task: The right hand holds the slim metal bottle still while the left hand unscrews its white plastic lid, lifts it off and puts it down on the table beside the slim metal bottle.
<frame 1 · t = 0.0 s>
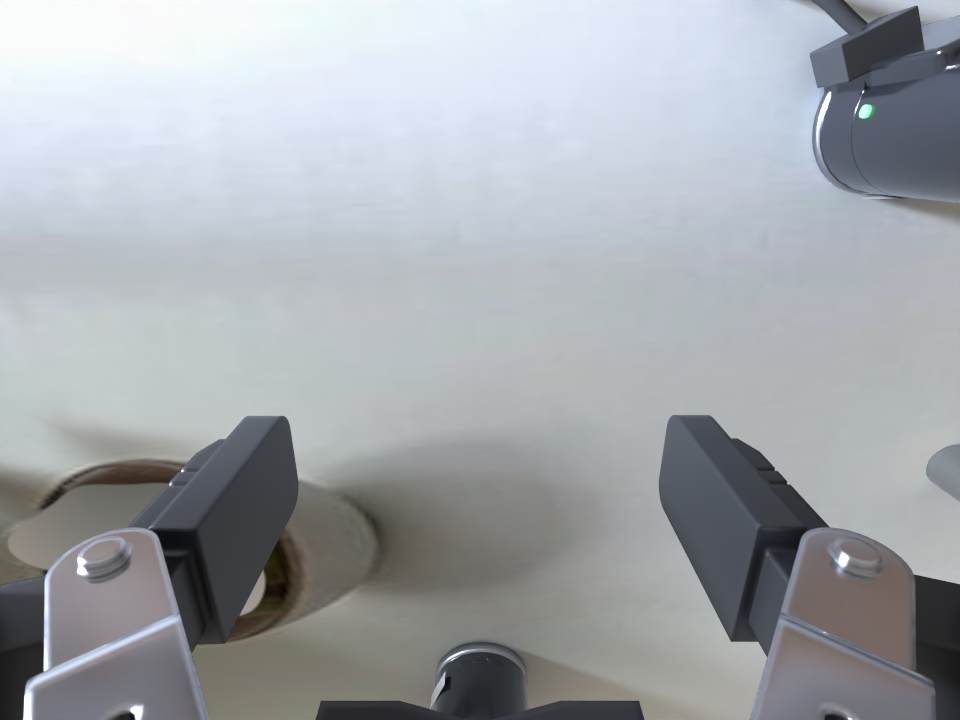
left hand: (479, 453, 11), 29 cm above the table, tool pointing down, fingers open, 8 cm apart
slim metal bottle: (950, 464, 46), on the table
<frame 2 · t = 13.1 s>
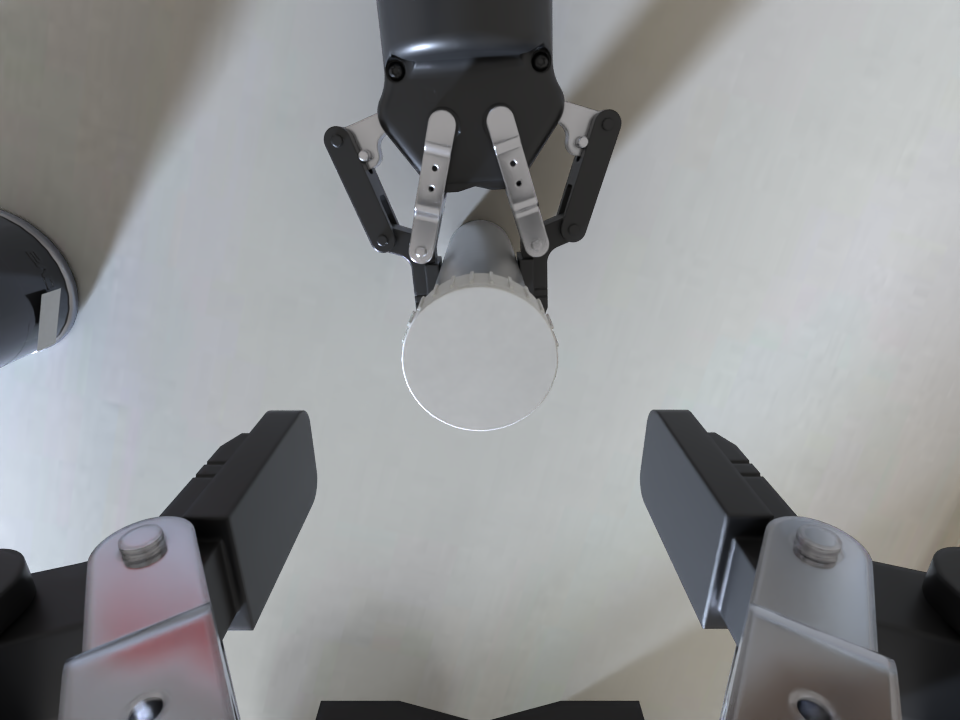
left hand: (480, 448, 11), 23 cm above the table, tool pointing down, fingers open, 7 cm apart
right hand: (483, 325, 28), fingers closed on slim metal bottle, 4 cm apart
lid: (480, 358, 16), point 18 cm above the table, screwed on, not yet turned
slim metal bottle: (480, 252, 33), on the table, touching right hand
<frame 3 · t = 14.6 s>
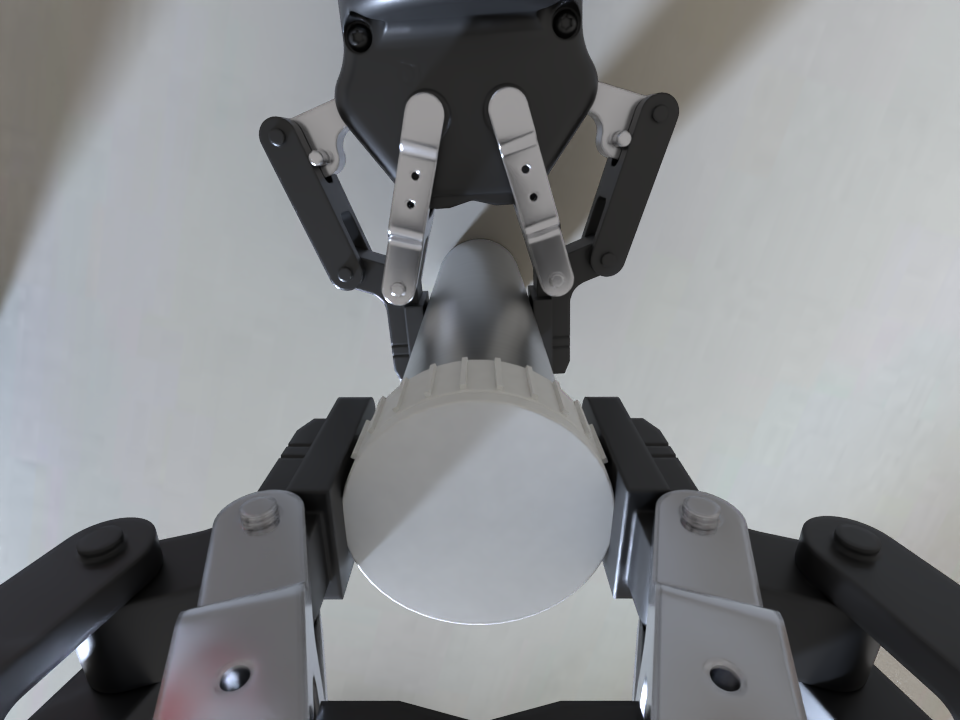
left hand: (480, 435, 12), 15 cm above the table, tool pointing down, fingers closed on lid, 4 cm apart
right hand: (483, 381, 21), fingers closed on slim metal bottle, 4 cm apart
lid: (478, 511, 9), point 18 cm above the table, screwed on, not yet turned, touching left hand
slim metal bottle: (479, 280, 26), on the table, touching right hand
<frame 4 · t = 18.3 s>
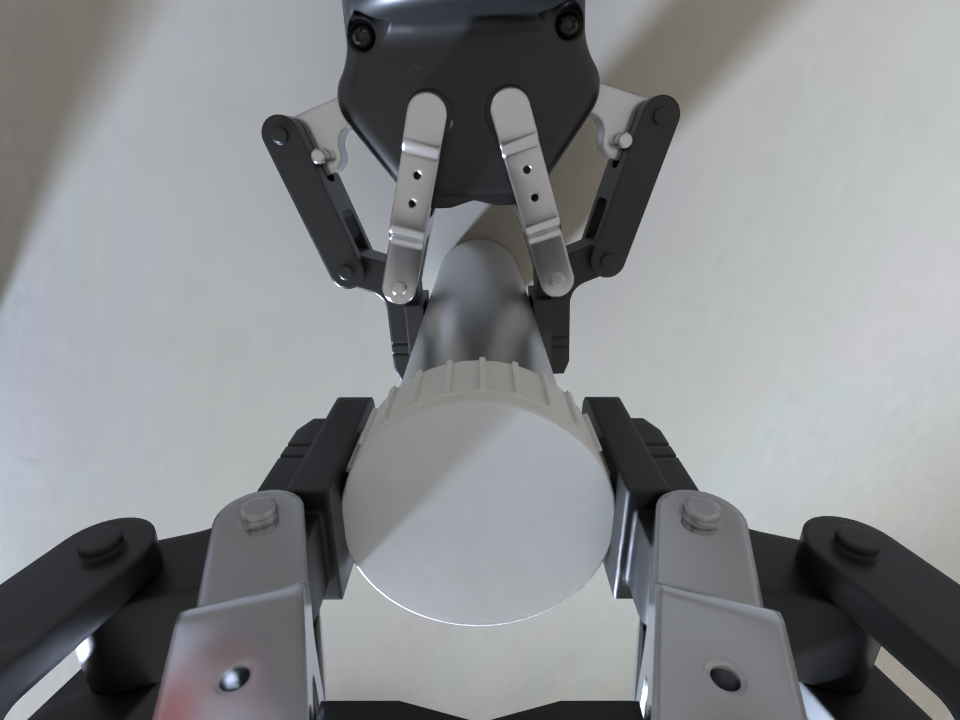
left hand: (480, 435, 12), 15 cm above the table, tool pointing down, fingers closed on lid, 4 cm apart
right hand: (483, 381, 21), fingers closed on slim metal bottle, 4 cm apart
lid: (478, 512, 9), point 18 cm above the table, turned 79° so far, risen 0.1 cm, still on its thread, touching left hand
slim metal bottle: (479, 279, 26), on the table, touching right hand
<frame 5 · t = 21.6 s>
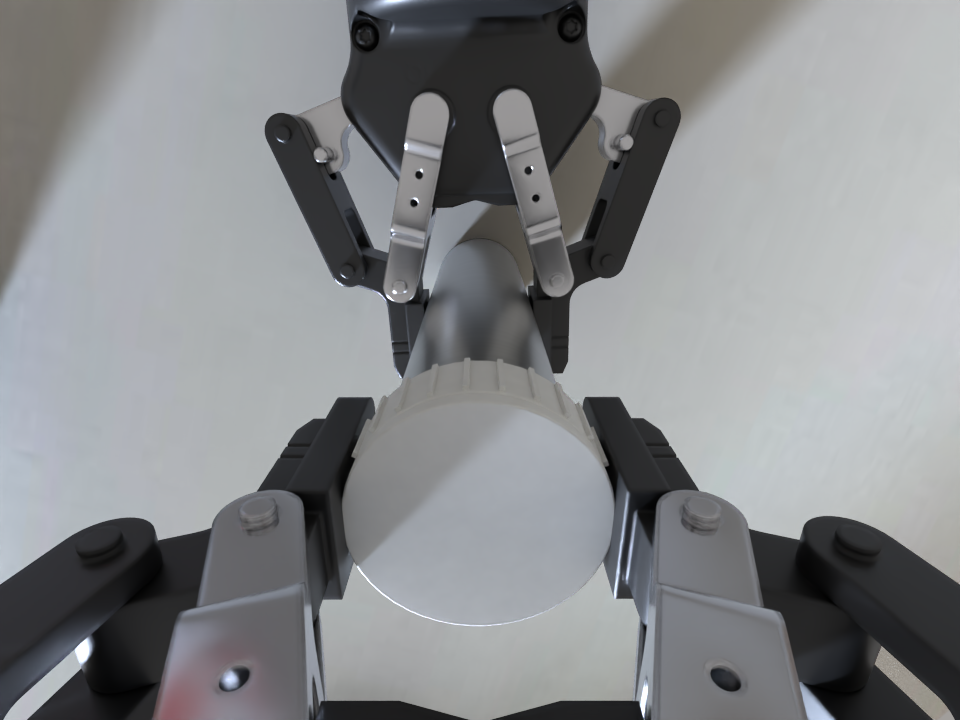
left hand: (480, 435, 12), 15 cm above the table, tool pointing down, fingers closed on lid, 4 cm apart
right hand: (482, 380, 21), fingers closed on slim metal bottle, 4 cm apart
lid: (478, 512, 9), point 18 cm above the table, turned 159° so far, risen 0.2 cm, still on its thread, touching left hand
slim metal bottle: (479, 279, 26), on the table, touching right hand
when the left hand's fingers open (16 cm above the table, at t = 26.4 s): lid stays where it is, point 18 cm above the table.
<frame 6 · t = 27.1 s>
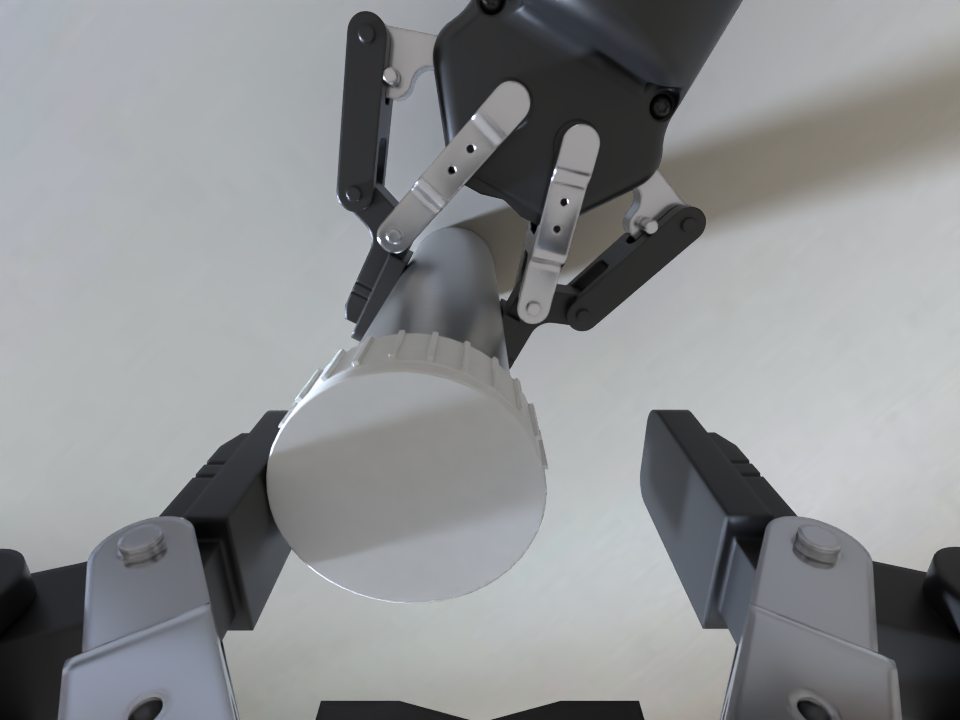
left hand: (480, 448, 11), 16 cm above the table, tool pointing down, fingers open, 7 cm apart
right hand: (417, 359, 21), fingers closed on slim metal bottle, 4 cm apart
lid: (409, 486, 9), point 18 cm above the table, turned 317° so far, risen 0.4 cm, still on its thread, touching left hand
slim metal bottle: (454, 268, 26), on the table, touching right hand
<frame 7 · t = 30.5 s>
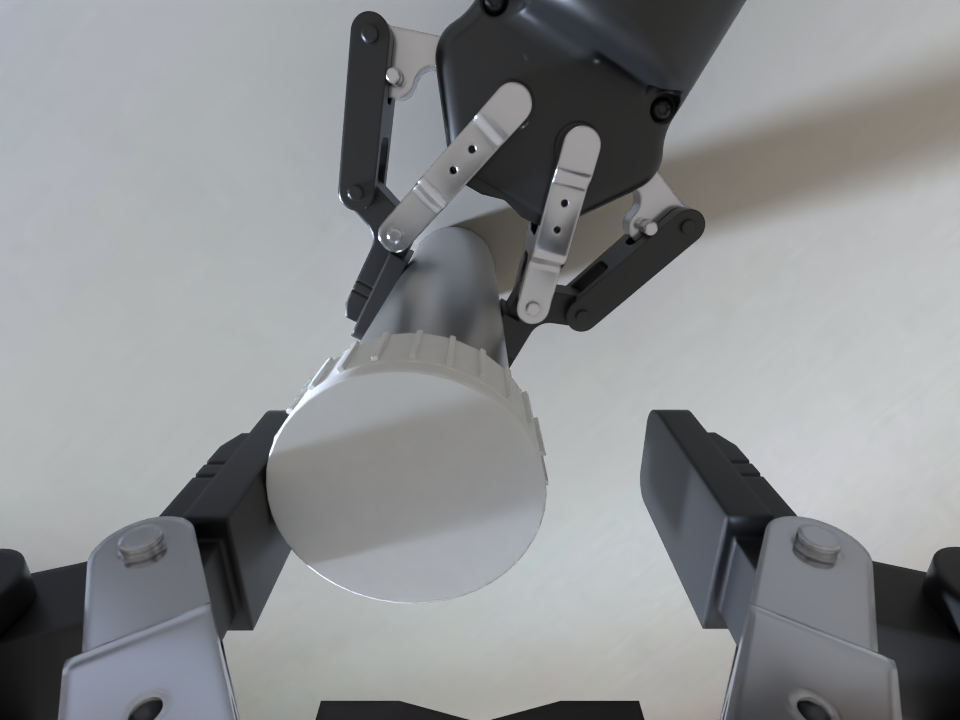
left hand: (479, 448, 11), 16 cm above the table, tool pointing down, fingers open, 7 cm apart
right hand: (417, 358, 21), fingers closed on slim metal bottle, 4 cm apart
lid: (409, 486, 9), point 18 cm above the table, turned 397° so far, risen 0.5 cm, still on its thread, touching left hand
slim metal bottle: (454, 267, 26), on the table, touching right hand
when the right hand's fingers open (6 cm above the table, at t = 39.4 s): slim metal bottle stays where it is, on the table.
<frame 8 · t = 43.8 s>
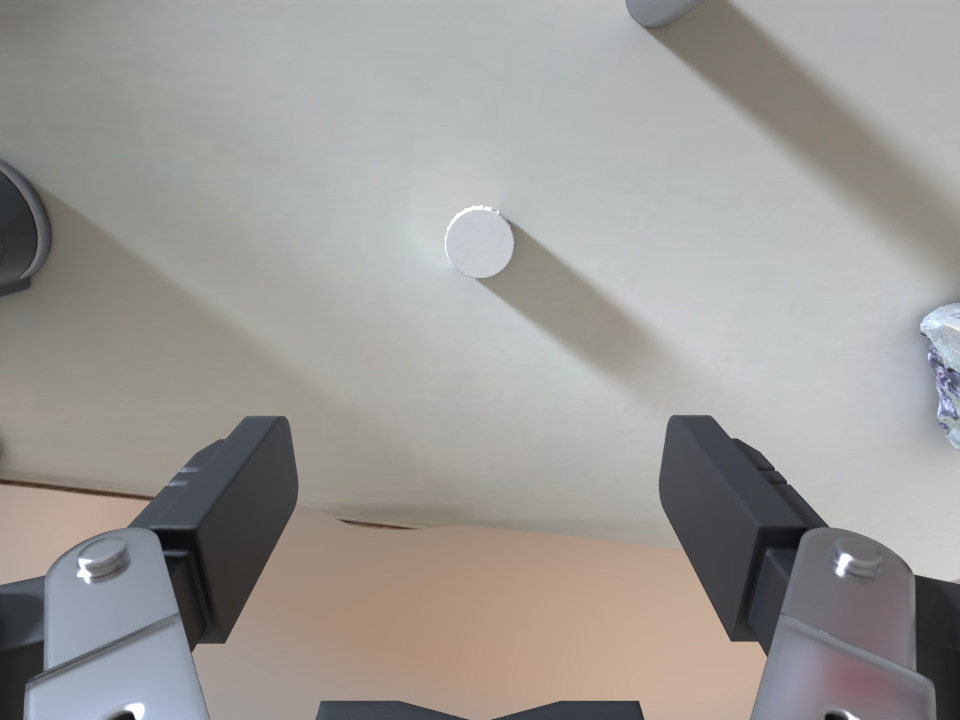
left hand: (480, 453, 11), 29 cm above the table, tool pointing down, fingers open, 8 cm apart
lid: (479, 243, 36), point 1 cm above the table, off its thread
mineral rock: (947, 375, 42), on the table
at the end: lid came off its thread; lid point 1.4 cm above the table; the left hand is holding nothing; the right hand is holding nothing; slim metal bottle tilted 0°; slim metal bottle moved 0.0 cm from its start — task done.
